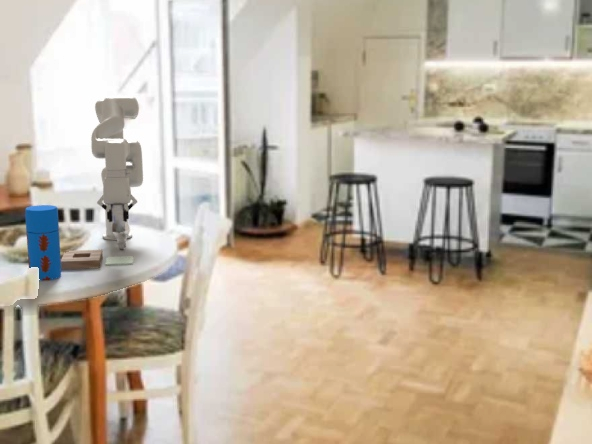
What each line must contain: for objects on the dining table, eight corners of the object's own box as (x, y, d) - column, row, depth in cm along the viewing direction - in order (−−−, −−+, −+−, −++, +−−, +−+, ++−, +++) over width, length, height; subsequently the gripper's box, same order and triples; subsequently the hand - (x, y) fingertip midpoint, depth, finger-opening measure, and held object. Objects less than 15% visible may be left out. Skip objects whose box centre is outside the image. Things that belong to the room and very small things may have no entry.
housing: (65, 258, 285) (65, 250, 285) (102, 257, 288) (102, 249, 287) (60, 269, 270) (60, 261, 269) (99, 267, 273) (99, 260, 272)
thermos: (30, 282, 254) (25, 211, 249) (28, 274, 263) (23, 206, 258) (63, 278, 258) (59, 209, 253) (59, 271, 268) (55, 204, 262)
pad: (107, 258, 286) (107, 257, 285) (133, 257, 287) (133, 256, 287) (105, 265, 276) (105, 263, 276) (132, 264, 278) (132, 262, 278)
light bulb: (126, 252, 296) (125, 223, 293) (110, 251, 297) (109, 222, 295) (133, 248, 303) (132, 219, 300) (117, 247, 304) (116, 218, 301)
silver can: (111, 229, 281) (110, 201, 279) (125, 229, 282) (124, 201, 280) (111, 232, 276) (109, 203, 274) (125, 232, 277) (124, 203, 275)
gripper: (139, 172, 280) (141, 218, 283) (93, 173, 277) (95, 219, 280) (139, 174, 272) (140, 222, 276) (91, 175, 269) (94, 223, 273)
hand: (118, 220), depth 278 cm, fingers closed on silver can, 5 cm apart
